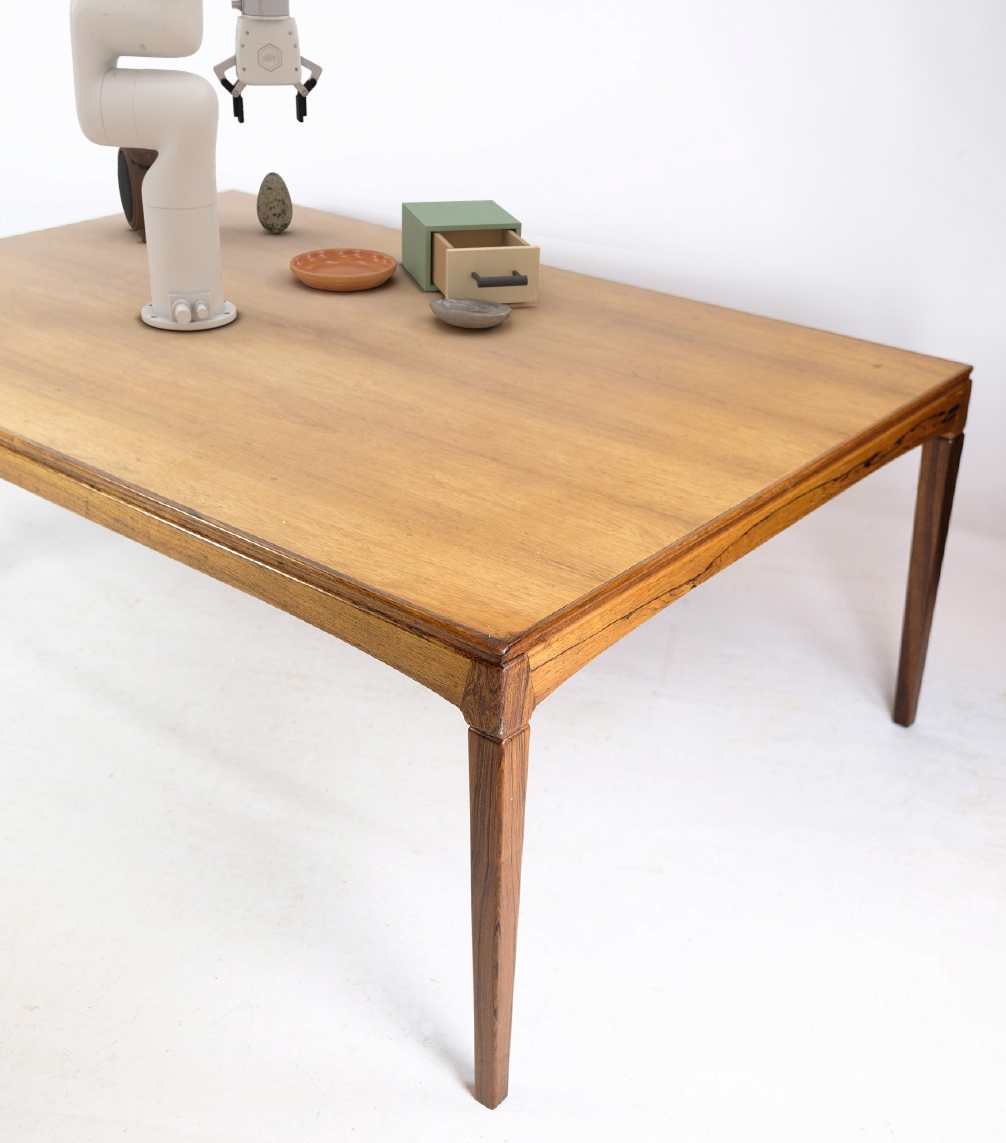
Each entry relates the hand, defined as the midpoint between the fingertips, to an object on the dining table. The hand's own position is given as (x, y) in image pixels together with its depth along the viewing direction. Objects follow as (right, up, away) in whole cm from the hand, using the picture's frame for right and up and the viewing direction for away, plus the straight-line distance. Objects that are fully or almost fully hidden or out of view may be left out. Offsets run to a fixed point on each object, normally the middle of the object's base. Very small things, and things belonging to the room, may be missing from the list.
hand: (270, 121), depth 211 cm
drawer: (+35, -33, -23) cm, 54 cm away
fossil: (+33, -40, -33) cm, 61 cm away
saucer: (+14, -30, -16) cm, 37 cm away
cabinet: (+31, -28, -11) cm, 43 cm away
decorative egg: (-1, -16, +8) cm, 18 cm away
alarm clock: (-21, -18, +4) cm, 28 cm away
